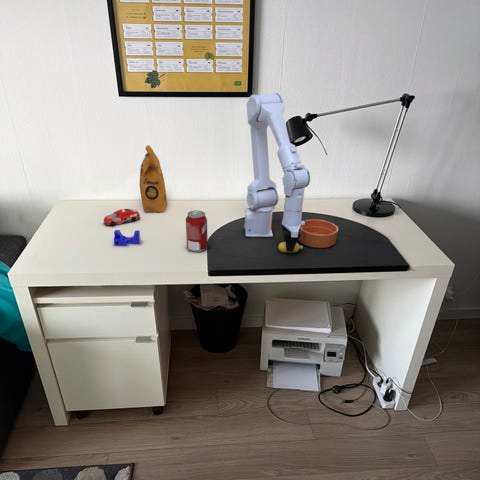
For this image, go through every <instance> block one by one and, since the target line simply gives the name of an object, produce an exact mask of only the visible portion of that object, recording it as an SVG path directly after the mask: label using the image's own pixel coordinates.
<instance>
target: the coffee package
mask: <svg viewBox="0 0 480 480" xmlns="http://www.w3.org/2000/svg"><path fill="white" fill-rule="evenodd" d="M144 149H145V151H146V153H145V154H144V158H143V160H142V161H141V164H140V171H139V191H140V199H141V205H142V208H143V211H144V212H145V213H164V212H165V210H166V207H167V204H168V203H167V202H168V201H167V200H168V199H167V190H166V182H165V177H164V174H163V170H162V167H161V162H160V159H159V157H158V156H157V155H156V153H155V152H154V150H153V148H152V147H151V145H149V144H148V145H145V148H144Z"/></svg>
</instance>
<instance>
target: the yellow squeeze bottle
mask: <svg viewBox="0 0 480 480" xmlns="http://www.w3.org/2000/svg"><path fill="white" fill-rule="evenodd" d="M303 249H304V246H303V245H300V244H299V243H298V242H296V245H295V247H294V250H293V252H289V251H286V242H284V241H282V242H280V243H279V244H278V246H277V250H278V251H279V252H280V253H282V254H283V253H284V254H286V253H287V254H295V253H298V252H299V250H303Z"/></svg>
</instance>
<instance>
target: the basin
mask: <svg viewBox="0 0 480 480" xmlns="http://www.w3.org/2000/svg"><path fill="white" fill-rule="evenodd" d="M303 221H304V225H301V226H300V228H299V230H298V232H301V236H300V237H299V239H298V240H297V241H299V242H300V243H301V244H302V245H304V246H306V247H309V248H313V249H327V248H331V247H332V246H334V245H335V244H336V243H337V237H338V232H339V228H338V226H337V225H336V224H335V223H333V222H331V221H328V220H325V219H324V220H323V219H318V218H315V219H314V218H313V219H306V220H303Z"/></svg>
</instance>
